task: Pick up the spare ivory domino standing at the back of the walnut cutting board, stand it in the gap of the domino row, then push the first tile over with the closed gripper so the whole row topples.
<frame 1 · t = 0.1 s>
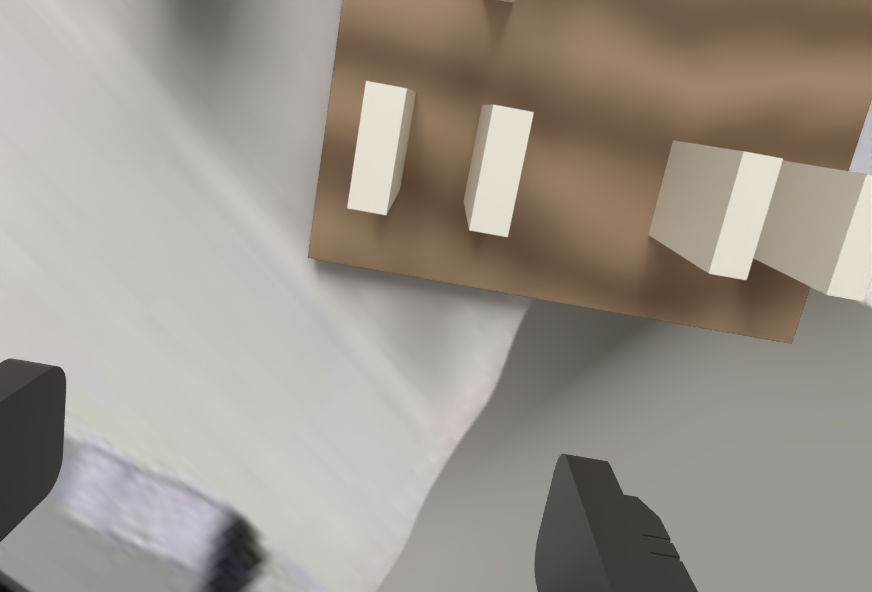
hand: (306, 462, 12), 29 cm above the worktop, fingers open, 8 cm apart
domino 4: (675, 191, 37), point 2 cm above the worktop, touching cutting board
domino 2: (487, 156, 37), point 2 cm above the worktop, touching cutting board
domino 5: (767, 208, 38), point 2 cm above the worktop, touching cutting board
domino 1: (392, 139, 37), point 2 cm above the worktop, touching cutting board
cutting board: (588, 115, 38), on the worktop
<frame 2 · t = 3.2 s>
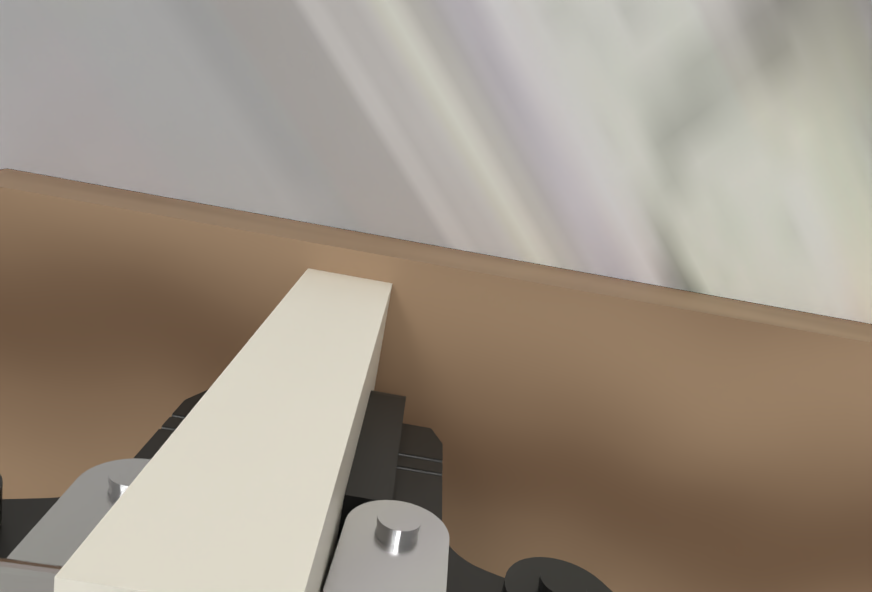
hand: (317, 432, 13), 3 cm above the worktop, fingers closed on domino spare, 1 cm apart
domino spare: (331, 397, 14), point 2 cm above the worktop, touching gripper
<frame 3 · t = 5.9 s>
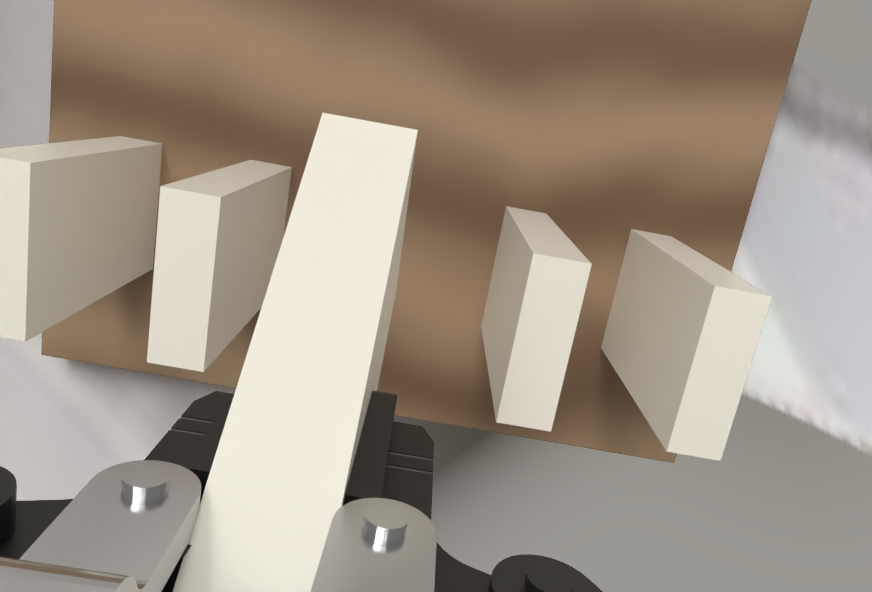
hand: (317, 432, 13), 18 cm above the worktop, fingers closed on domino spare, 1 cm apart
domino 4: (512, 271, 28), point 2 cm above the worktop, touching cutting board
domino 2: (263, 226, 28), point 2 cm above the worktop, touching cutting board
domino 5: (635, 293, 29), point 2 cm above the worktop, touching cutting board
domino 1: (137, 204, 28), point 2 cm above the worktop, touching cutting board
cutting board: (404, 169, 29), on the worktop
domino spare: (364, 215, 14), point 16 cm above the worktop, tilted 42°, touching gripper
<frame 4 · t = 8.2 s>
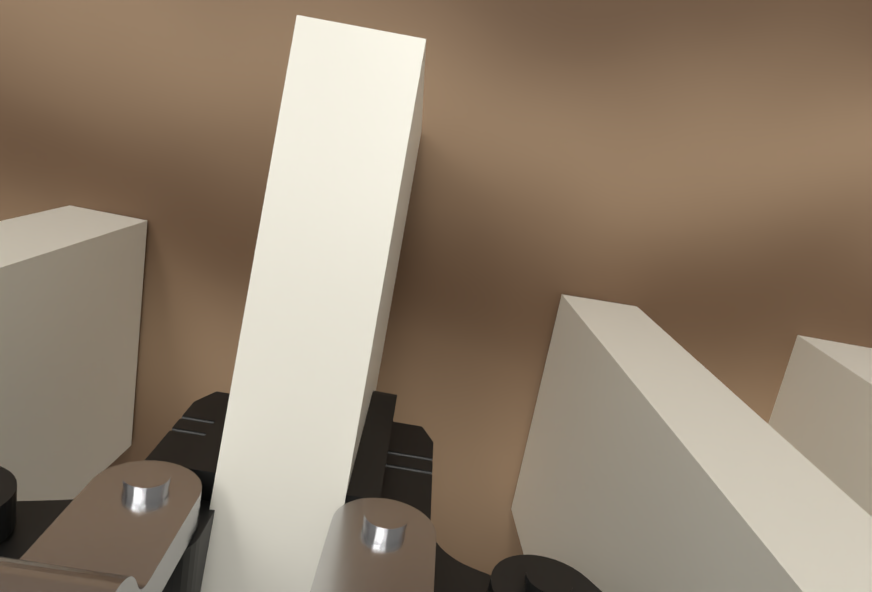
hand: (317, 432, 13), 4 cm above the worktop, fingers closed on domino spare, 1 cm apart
domino 4: (571, 411, 15), point 2 cm above the worktop, touching cutting board
domino 2: (101, 330, 15), point 2 cm above the worktop, touching cutting board
domino 5: (797, 449, 15), point 2 cm above the worktop, touching cutting board
cutting board: (370, 218, 16), on the worktop
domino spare: (373, 86, 11), point 4 cm above the worktop, tilted 74°, touching gripper
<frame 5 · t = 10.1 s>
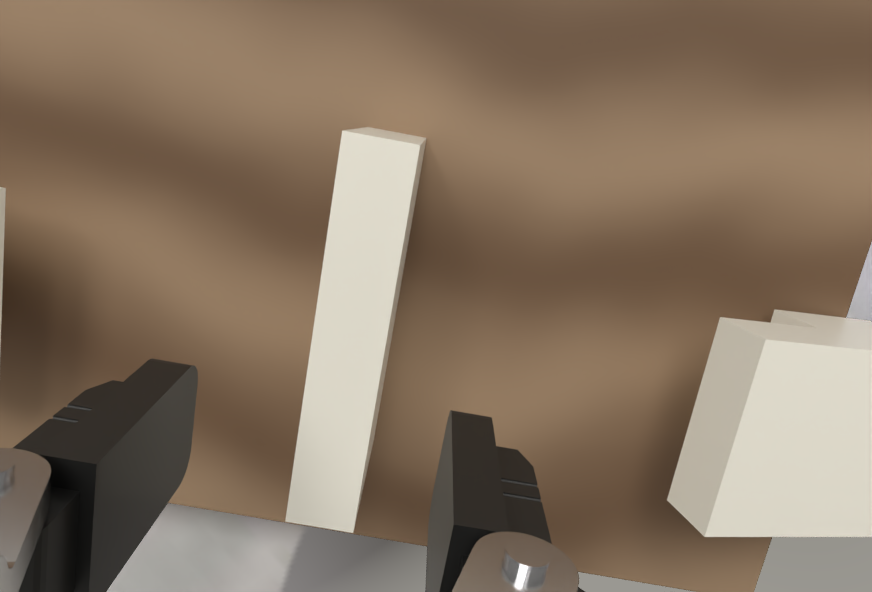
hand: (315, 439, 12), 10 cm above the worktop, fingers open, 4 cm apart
domino 4: (712, 426, 17), point 6 cm above the worktop, tilted 106°, touching domino 5
domino 5: (768, 405, 19), point 3 cm above the worktop, tilted 106°, touching cutting board, domino 4
cutting board: (387, 207, 22), on the worktop
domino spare: (390, 134, 17), point 4 cm above the worktop, tilted 90°, touching cutting board
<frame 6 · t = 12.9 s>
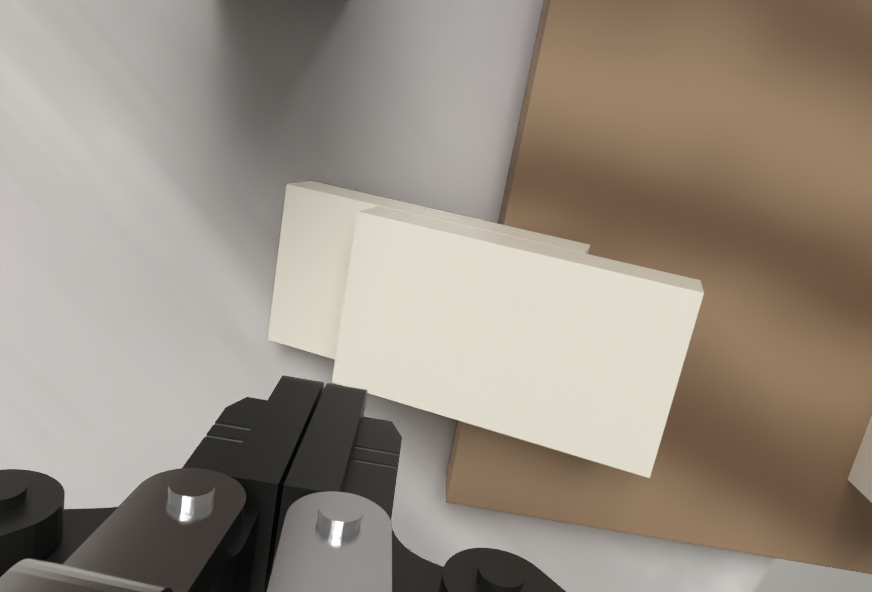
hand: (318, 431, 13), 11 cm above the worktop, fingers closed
domino 2: (675, 378, 18), point 6 cm above the worktop, tilted 106°, touching domino 1
domino 1: (567, 332, 21), point 3 cm above the worktop, tilted 106°, touching cutting board, domino 2
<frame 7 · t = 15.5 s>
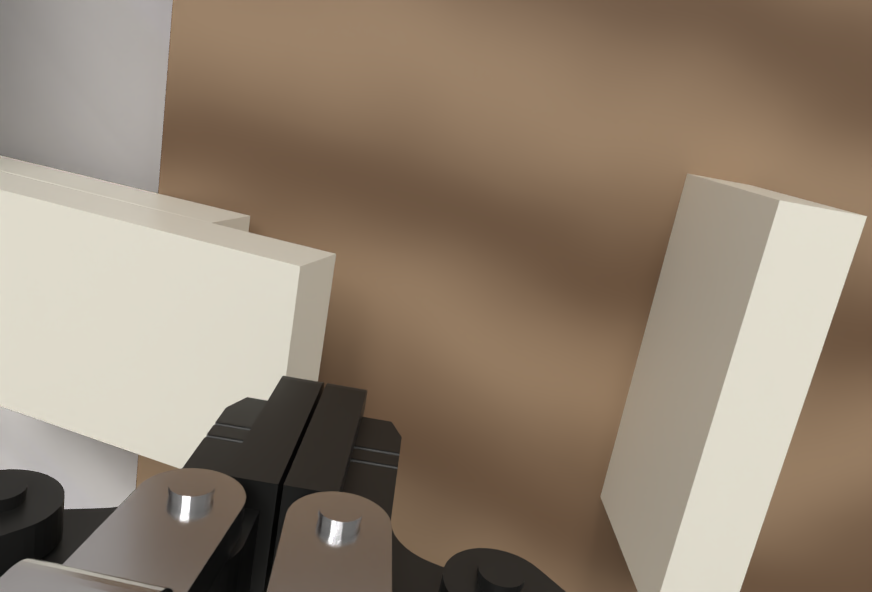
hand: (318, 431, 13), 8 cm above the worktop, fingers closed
domino 2: (303, 376, 15), point 6 cm above the worktop, tilted 106°, touching domino 1
domino 1: (220, 321, 17), point 3 cm above the worktop, tilted 106°, touching cutting board, domino 2
cutting board: (670, 254, 20), on the worktop
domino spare: (762, 191, 15), point 4 cm above the worktop, tilted 90°, touching cutting board
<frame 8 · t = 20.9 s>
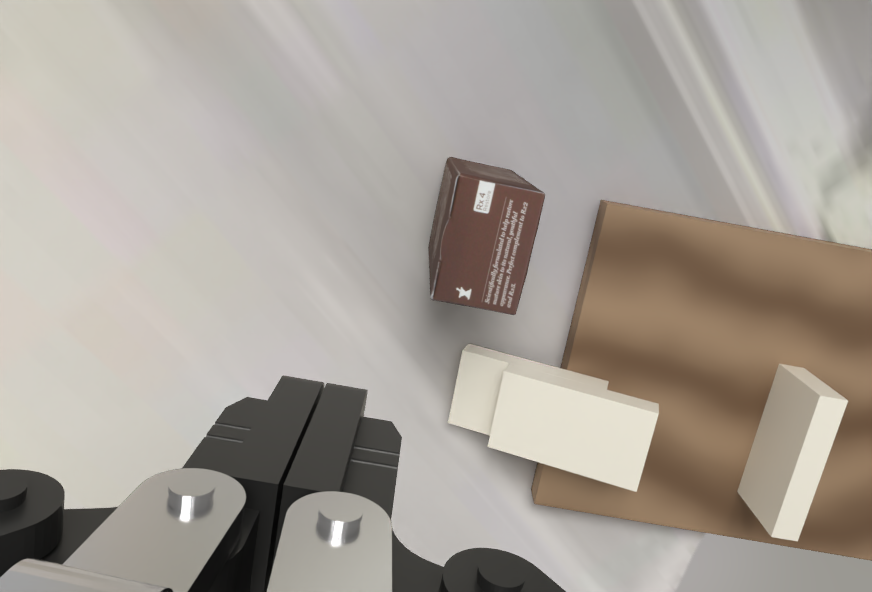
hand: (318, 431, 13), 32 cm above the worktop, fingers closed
domino 2: (647, 447, 41), point 6 cm above the worktop, tilted 106°, touching domino 1
domino 1: (598, 422, 44), point 3 cm above the worktop, tilted 106°, touching cutting board, domino 2
cutting board: (767, 388, 46), on the worktop
box: (473, 209, 44), on the worktop
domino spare: (811, 381, 42), point 4 cm above the worktop, tilted 90°, touching cutting board
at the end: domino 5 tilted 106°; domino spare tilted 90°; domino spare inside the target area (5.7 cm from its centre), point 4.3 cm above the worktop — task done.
